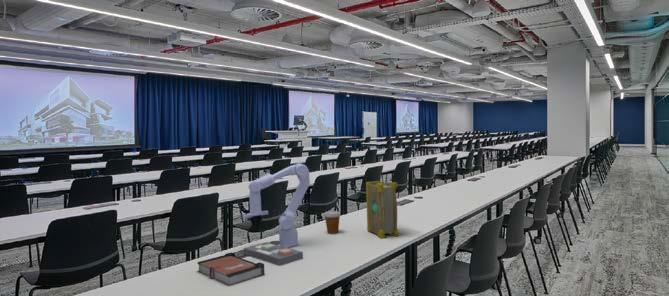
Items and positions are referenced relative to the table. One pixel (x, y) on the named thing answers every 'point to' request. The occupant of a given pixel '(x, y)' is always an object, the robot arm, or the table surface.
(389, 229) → the decorative book
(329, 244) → the table surface
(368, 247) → the table surface
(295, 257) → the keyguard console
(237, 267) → the book
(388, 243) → the table surface
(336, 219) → the disposable coffee cup
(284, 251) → the terracotta key
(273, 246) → the sage key
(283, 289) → the table surface
